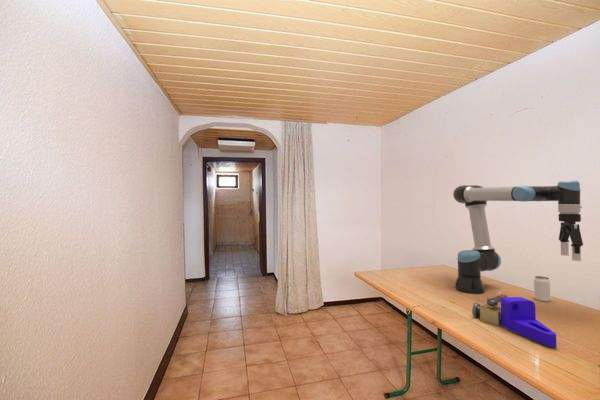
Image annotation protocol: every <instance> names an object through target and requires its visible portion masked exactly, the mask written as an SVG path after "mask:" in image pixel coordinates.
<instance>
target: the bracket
mask: <svg viewBox="0 0 600 400" xmlns="http://www.w3.org/2000/svg"><path fill="white" fill-rule="evenodd" d="M500 307H501V325H500V326H502V327H503V328H505V329H507V330H509V331H512V332H514V333H516V334H518V335H520V336H522V337H525V338H528V339H529V340H533V341H535V342H537V343H539V344H541V345H543V346H547V347H551V348H557V333H556V332H555V331H553V330H551V328H550V327H548V326H546V325H545V324H543V323H542V322H541V321H539V320H538V319H537V316H536V313H537V312H536V304H535V302H534V301H533V300H530V299H528V298H525V297H523V296H507V297H504V298H502V300H501V302H500Z"/></svg>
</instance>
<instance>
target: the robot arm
mask: <svg viewBox="0 0 600 400" xmlns="http://www.w3.org/2000/svg"><path fill="white" fill-rule="evenodd" d="M580 186H581V185H580V181H577V180H562V181H558V182H557V185H547V186H542V185H541V186H540V185H539V186H537V185H536V186H532V185H531V186H530V185H521V186H501V187H500V186H495V187H493V186H492V187H490V186H489V187H484V186H482V185H477V184H476V185H459V186H457V187H456V188H455V189H454V191H453V193H452V195H453V199H454V200H455V201H456V202H458V203H460V204H464V205H465V208H466V209H467V210H468V212H469V220H470V226H471V232H472V238H473V243H474V247H473V248H472V249H468V250H467V249H465V250H461V251H458V253H457V258H456V259H457V278H456V281H455V284H454V289H455V288H456V289H455V290H457V291H459V292H462V293H467V294H473V295H474V294H476V295H478V294H479V295H480V294H484V293H485V286H484V284H483V283H484V282H483V281H482V277H481V272H486V271H487V272H489V271H490V272H491V271H495V270H497V269H498V268H499V267H500V266H501V264H502V258H501V256H500V254H499V253H498V252H496V249H495V247H493V246H492V244H491V239H490V234H489V233H490V232H489V227H488V220H487V216H486V209H485V208H486V206H487V202H488V201H491V202H498V201H499V202H557V203H558V204H557V205H558V207H557V209H558V210H557V212H558V221H559V222H560V228H559V229H560V230H559V235H558V240H559V242H560V255H561V256H565V257H566V256H567V257H569V256H570V252H569V249H570V248H569V246H570V247H571V261H575V262H576V261H577V262H581V261H582V256H581V255H582V251H581V250H582V249H581V248H582V247H583V246H584V242H583V238H582V235H581V228H580V224H578V223H580V222H582V214H581V209H582V207H583V206H582V205H581V191H582V190H581V187H580ZM576 222H577V223H576ZM569 238H570V240H571V244H570V245H569V243H570V240H569Z"/></svg>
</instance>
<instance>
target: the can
mask: <svg viewBox="0 0 600 400" xmlns="http://www.w3.org/2000/svg"><path fill="white" fill-rule="evenodd" d="M533 284H534V285H533V290H534V291H533V292H534V299H535V300H536V301H539V302H544V301H545V302H547V303H548V301H549V302H551V280H550V278H549V277H547V276H543V275H542V276H540V275H535V276H534V279H533ZM545 302H544V303H545Z"/></svg>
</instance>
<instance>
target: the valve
mask: <svg viewBox="0 0 600 400" xmlns="http://www.w3.org/2000/svg"><path fill="white" fill-rule="evenodd" d="M471 309H472V310H471V311H472V312H471V313H472V315H473V317H476V318H479V317H480V319H479V320H480V321H481V322H483V323H486V324H490V325H493V326H496V327H500V326H502V325H501V306H491V305H488V304H487V303H486V304H484V305H482V306H481V304H480V303H477V302H475V303H474V304H473V305H472V308H471Z"/></svg>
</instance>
